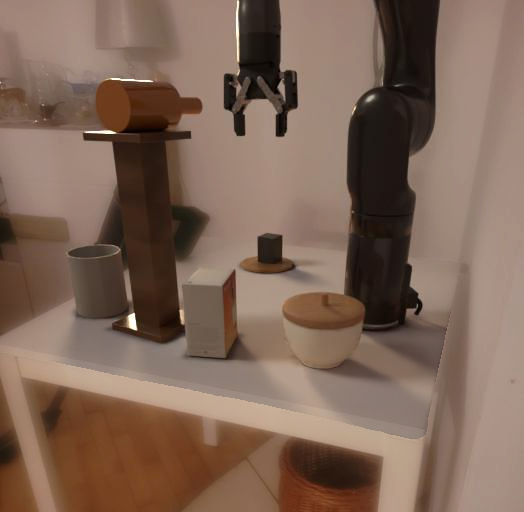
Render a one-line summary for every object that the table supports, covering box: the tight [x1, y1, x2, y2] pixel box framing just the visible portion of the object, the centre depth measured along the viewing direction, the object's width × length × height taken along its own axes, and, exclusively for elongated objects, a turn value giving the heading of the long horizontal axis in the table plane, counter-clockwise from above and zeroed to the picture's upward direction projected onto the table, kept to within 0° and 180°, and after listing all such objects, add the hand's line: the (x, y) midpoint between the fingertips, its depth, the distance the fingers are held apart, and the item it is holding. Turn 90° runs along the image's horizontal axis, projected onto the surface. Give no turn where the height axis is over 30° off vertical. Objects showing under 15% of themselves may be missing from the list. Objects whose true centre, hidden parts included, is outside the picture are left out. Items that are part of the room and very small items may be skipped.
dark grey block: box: [256, 232, 284, 264], centre depth 106 cm, size 6×4×4 cm
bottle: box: [94, 78, 204, 133], centre depth 67 cm, size 17×6×6 cm, turn 149°
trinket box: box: [281, 291, 365, 370], centre depth 65 cm, size 11×11×9 cm
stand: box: [82, 129, 192, 344], centre depth 71 cm, size 10×10×28 cm
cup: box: [65, 244, 129, 319], centre depth 81 cm, size 8×8×10 cm
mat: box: [241, 255, 293, 274], centre depth 106 cm, size 11×11×1 cm
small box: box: [181, 266, 238, 359], centre depth 68 cm, size 8×6×10 cm
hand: (260, 136), depth 90 cm, fingers open, 8 cm apart
